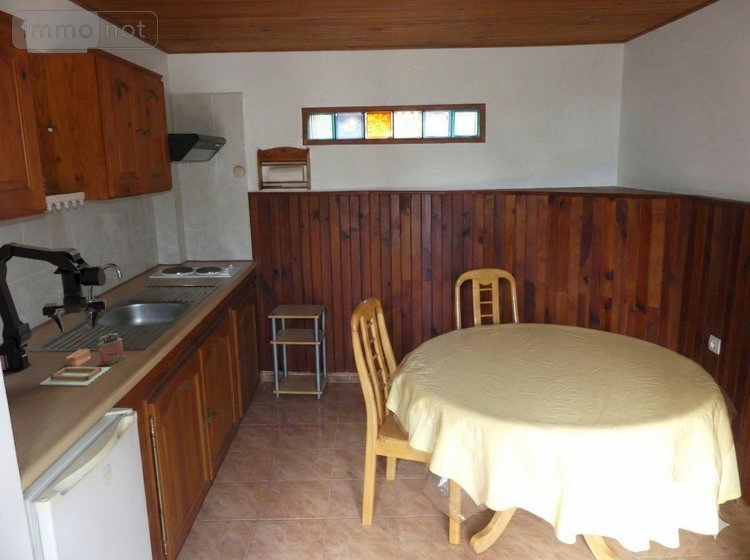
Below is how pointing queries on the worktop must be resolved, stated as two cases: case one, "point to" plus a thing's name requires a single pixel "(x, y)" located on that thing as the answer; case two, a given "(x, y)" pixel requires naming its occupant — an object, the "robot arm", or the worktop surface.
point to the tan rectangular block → (78, 358)
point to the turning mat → (75, 376)
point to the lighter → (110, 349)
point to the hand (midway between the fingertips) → (78, 330)
